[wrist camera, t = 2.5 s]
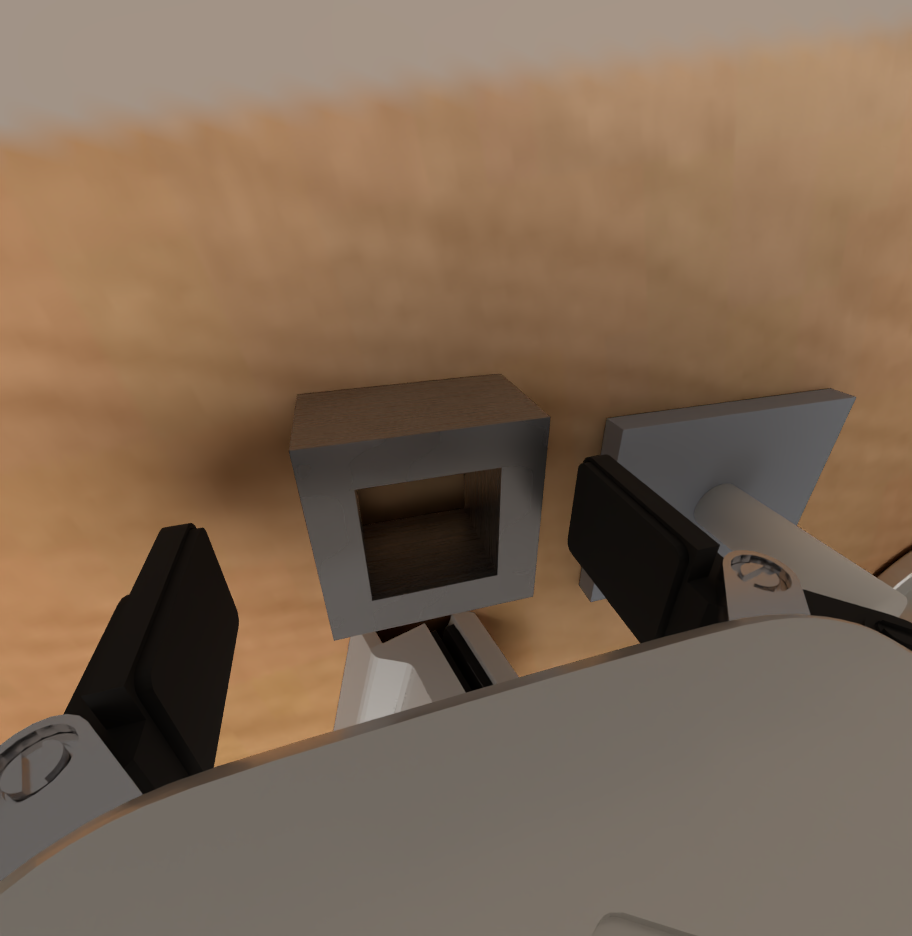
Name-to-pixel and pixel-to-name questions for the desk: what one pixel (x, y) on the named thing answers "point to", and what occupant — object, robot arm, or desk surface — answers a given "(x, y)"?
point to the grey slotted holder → (417, 669)
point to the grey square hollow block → (432, 535)
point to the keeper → (749, 481)
